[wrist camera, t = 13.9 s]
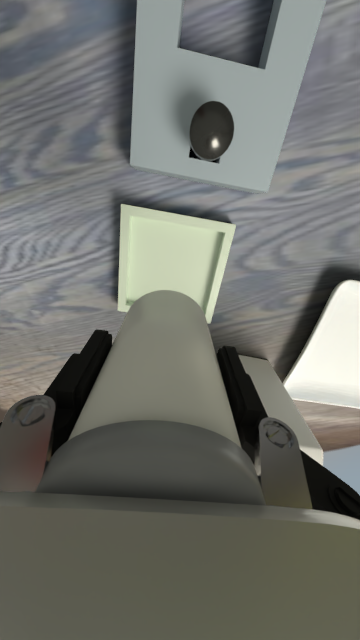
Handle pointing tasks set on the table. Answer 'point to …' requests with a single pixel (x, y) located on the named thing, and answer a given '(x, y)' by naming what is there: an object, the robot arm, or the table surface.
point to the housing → (216, 95)
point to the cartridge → (157, 416)
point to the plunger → (211, 131)
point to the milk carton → (281, 404)
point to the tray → (171, 256)
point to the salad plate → (331, 353)
